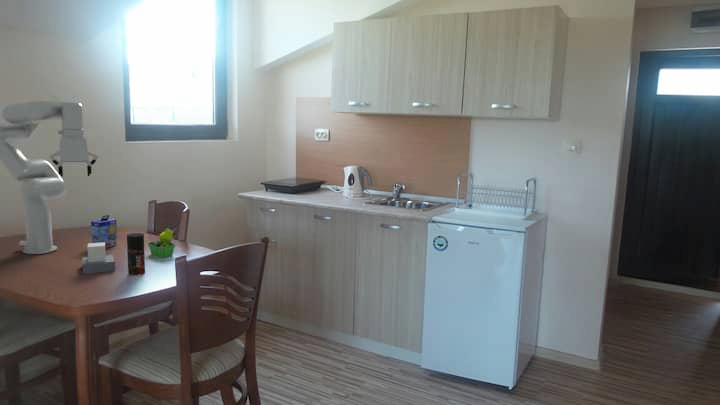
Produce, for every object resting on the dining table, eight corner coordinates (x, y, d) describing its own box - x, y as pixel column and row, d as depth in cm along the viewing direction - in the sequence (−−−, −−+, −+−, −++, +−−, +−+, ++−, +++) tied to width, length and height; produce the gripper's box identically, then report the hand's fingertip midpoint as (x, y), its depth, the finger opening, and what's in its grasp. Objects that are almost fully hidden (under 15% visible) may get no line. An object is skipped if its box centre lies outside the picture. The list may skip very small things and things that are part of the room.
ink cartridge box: (100, 249, 233) (98, 217, 231) (91, 248, 235) (89, 216, 233) (118, 244, 242) (116, 214, 240) (109, 243, 244) (107, 212, 242)
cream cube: (88, 262, 201) (87, 247, 200) (88, 258, 206) (87, 243, 205) (105, 260, 204) (104, 245, 203) (105, 257, 209) (105, 242, 208)
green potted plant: (147, 254, 229) (146, 228, 227) (166, 250, 235) (165, 226, 233) (159, 259, 221) (158, 233, 219) (179, 255, 227) (178, 230, 226)
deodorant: (134, 276, 197) (133, 237, 195) (124, 273, 200) (123, 235, 198) (148, 272, 202) (147, 234, 200) (138, 269, 205) (137, 232, 203)
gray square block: (83, 274, 199) (82, 264, 198) (82, 267, 208) (82, 257, 207) (115, 271, 204) (114, 261, 203) (113, 264, 213) (112, 254, 213)
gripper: (47, 133, 204) (50, 177, 206) (97, 134, 212) (99, 176, 214) (48, 132, 210) (51, 175, 213) (96, 133, 218) (98, 174, 221)
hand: (75, 176), depth 214 cm, fingers open, 9 cm apart
